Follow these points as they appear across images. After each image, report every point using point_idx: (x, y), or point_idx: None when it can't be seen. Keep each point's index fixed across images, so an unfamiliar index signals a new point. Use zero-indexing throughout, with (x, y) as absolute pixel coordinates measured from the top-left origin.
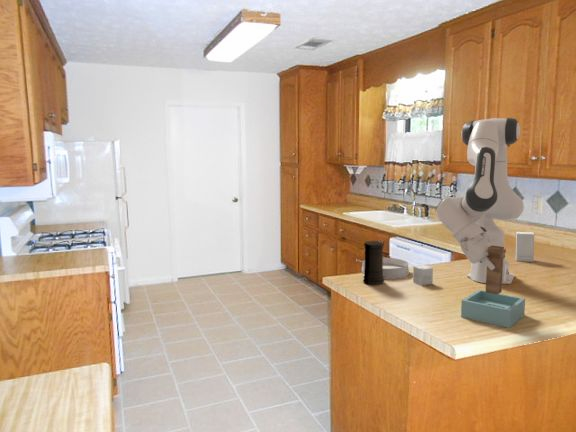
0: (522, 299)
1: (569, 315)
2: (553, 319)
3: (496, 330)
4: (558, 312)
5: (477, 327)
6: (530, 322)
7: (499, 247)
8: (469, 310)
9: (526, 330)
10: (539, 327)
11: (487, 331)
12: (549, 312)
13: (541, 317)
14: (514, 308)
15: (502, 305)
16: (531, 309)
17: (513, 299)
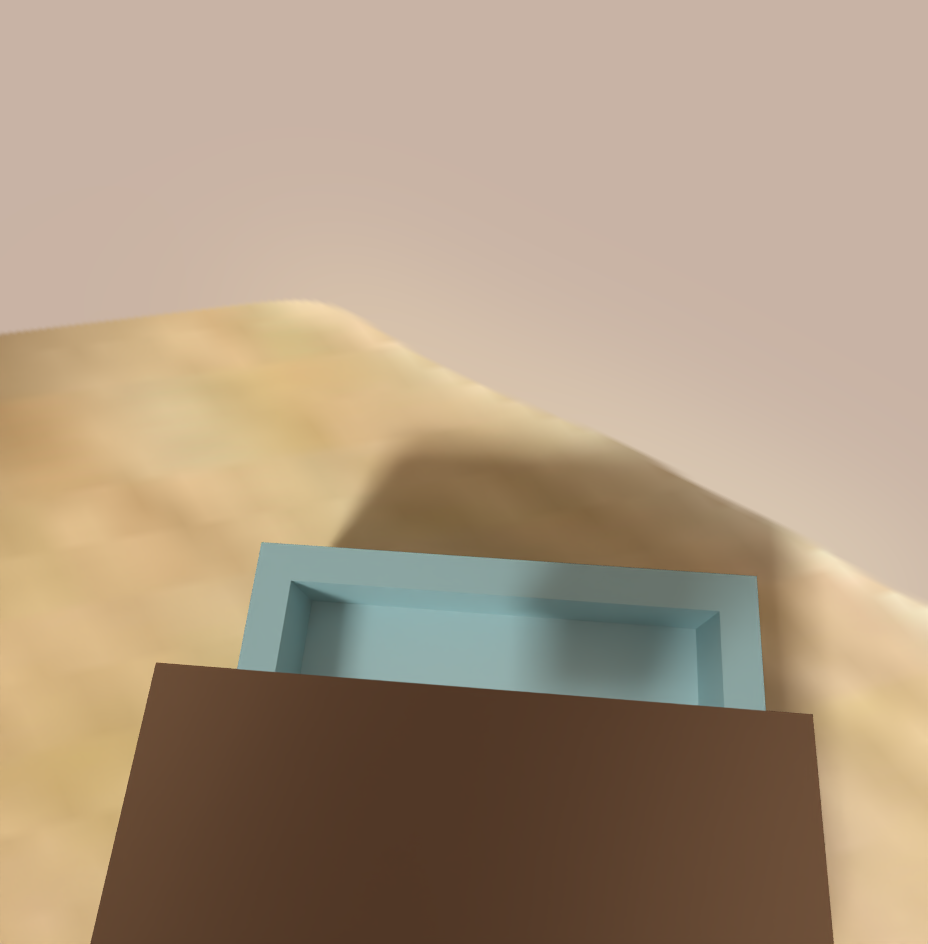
0: (310, 558)
1: (146, 326)
2: (295, 394)
3: (832, 690)
4: (109, 392)
5: (891, 859)
6: (461, 511)
7: (432, 849)
8: None
9: (659, 499)
10: (532, 439)
11: (914, 750)
12: (139, 442)
13: (294, 467)
14: (619, 570)
15: None
16: (124, 567)
17: (283, 656)
